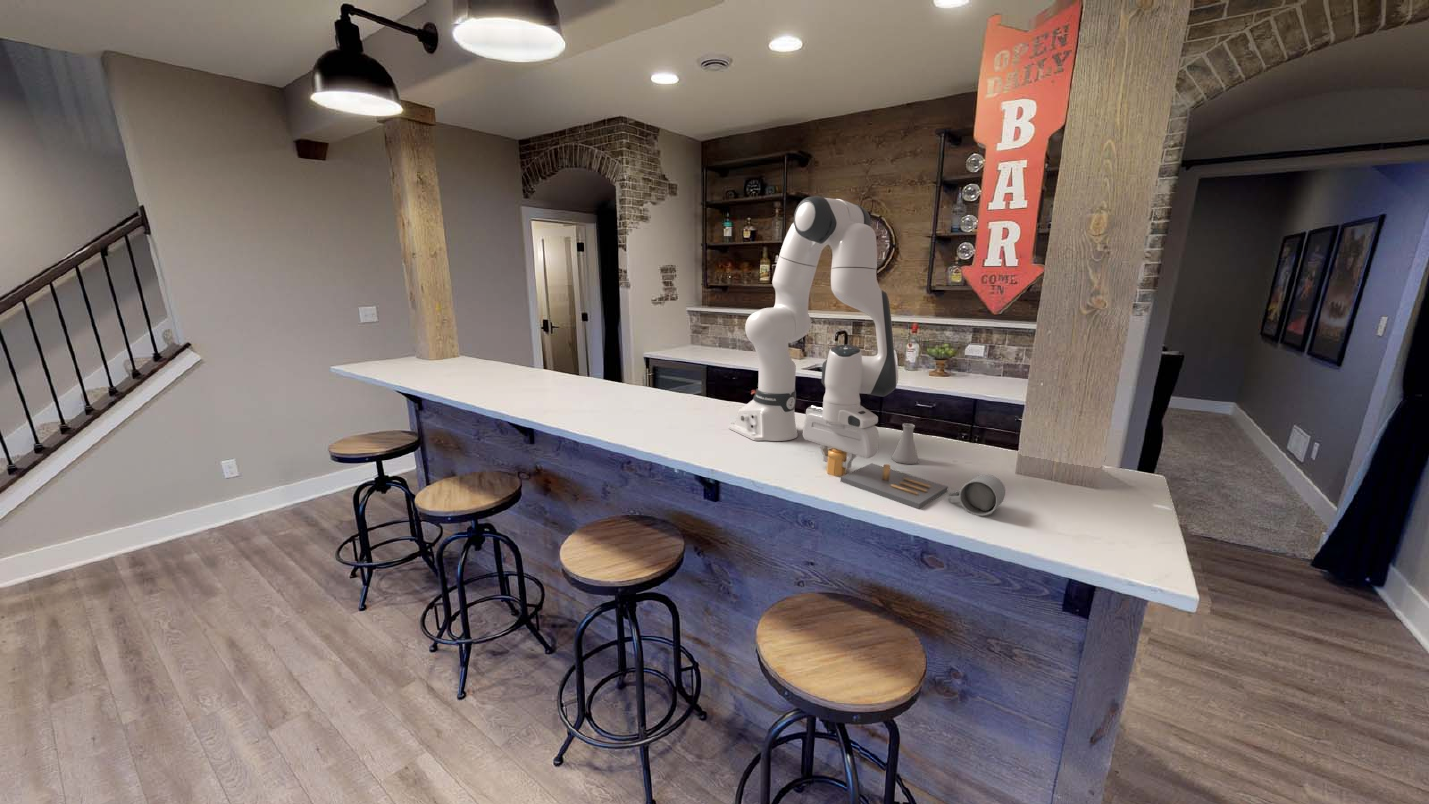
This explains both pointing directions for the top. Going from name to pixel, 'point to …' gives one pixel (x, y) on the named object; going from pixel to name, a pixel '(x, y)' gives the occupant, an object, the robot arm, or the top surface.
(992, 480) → the ceramic mug
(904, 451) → the flask
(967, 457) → the top surface
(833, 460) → the wire nut
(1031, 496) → the top surface
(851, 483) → the plate
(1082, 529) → the top surface
